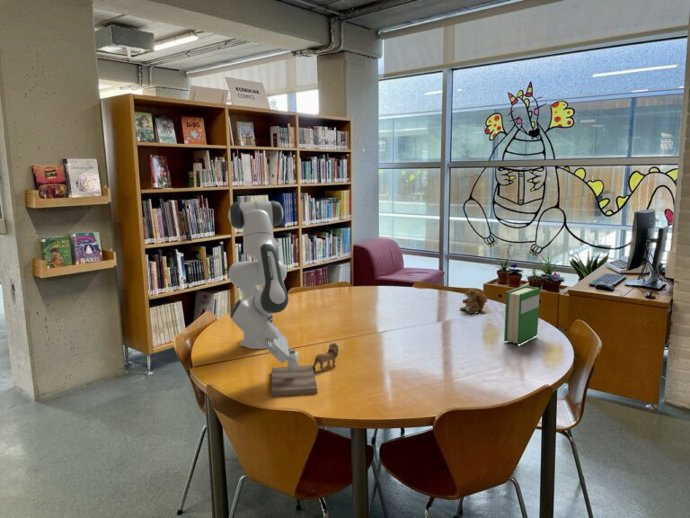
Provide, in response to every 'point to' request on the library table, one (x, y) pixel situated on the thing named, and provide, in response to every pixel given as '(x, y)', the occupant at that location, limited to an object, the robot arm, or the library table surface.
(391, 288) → the library table surface
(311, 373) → the display block
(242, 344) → the robot arm
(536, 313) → the hardback book
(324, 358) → the lion figurine
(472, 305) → the stuffed squirrel
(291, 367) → the connector casing
